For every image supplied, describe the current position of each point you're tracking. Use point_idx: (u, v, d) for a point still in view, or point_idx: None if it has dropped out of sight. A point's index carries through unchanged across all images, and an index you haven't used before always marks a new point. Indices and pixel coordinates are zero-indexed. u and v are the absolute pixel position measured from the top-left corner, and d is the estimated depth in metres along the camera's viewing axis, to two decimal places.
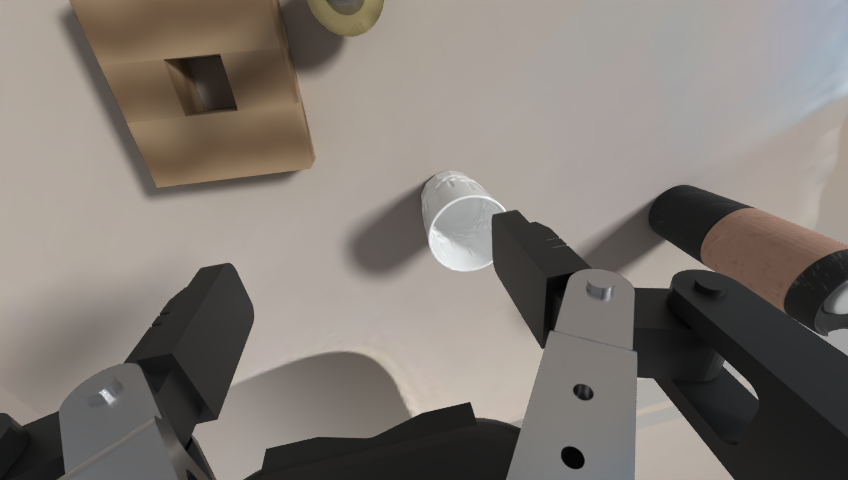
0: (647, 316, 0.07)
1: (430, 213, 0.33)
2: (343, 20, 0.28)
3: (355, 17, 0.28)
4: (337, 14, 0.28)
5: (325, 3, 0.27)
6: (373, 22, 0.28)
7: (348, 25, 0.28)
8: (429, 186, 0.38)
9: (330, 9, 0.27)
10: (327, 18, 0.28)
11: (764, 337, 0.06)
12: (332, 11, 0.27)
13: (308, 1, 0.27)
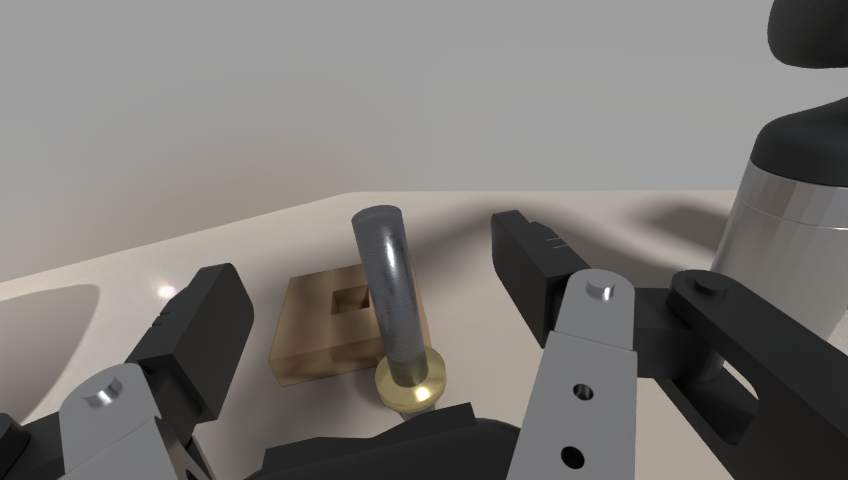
0: (647, 316, 0.07)
1: None
2: (387, 371, 0.30)
3: (389, 380, 0.29)
4: None
5: None
6: (385, 396, 0.28)
7: (383, 375, 0.30)
8: None
9: None
10: None
11: (764, 337, 0.06)
12: None
13: None
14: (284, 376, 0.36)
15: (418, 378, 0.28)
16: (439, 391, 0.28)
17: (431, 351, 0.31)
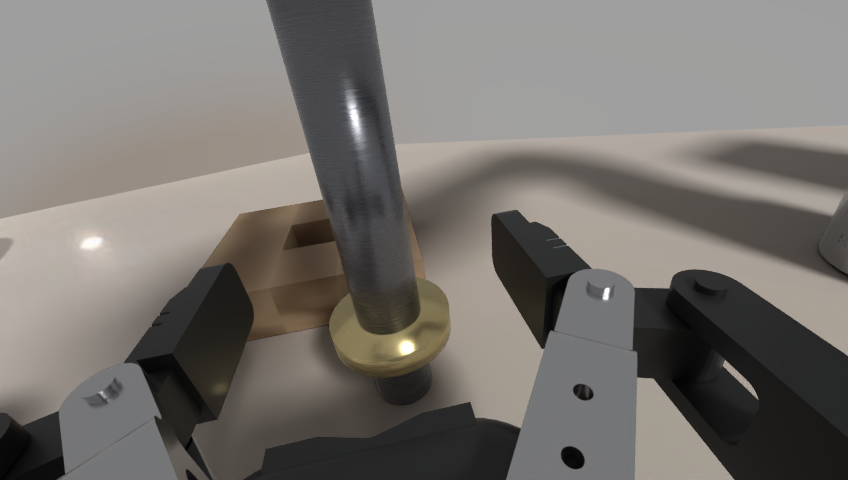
0: (647, 316, 0.07)
1: None
2: (351, 312, 0.18)
3: (353, 325, 0.17)
4: None
5: None
6: (343, 347, 0.16)
7: (344, 318, 0.18)
8: None
9: None
10: None
11: (764, 337, 0.06)
12: None
13: None
14: None
15: (401, 318, 0.16)
16: (439, 341, 0.16)
17: (426, 283, 0.19)
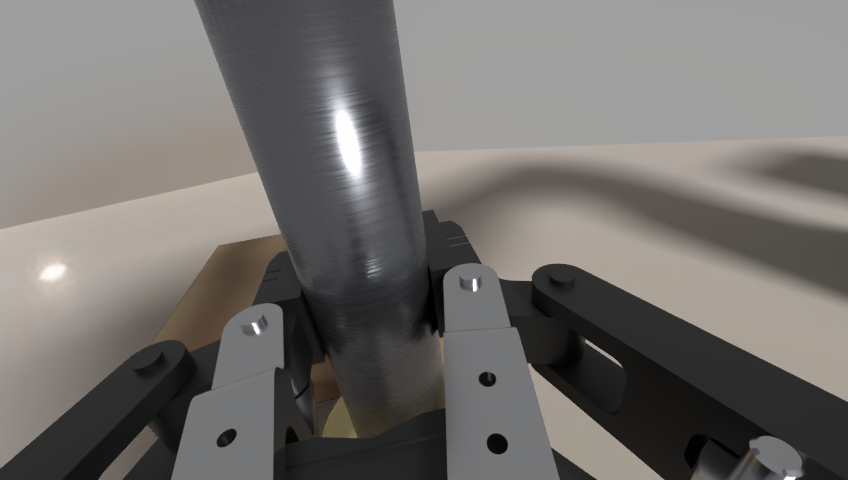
0: (510, 305, 0.08)
1: None
2: (351, 427, 0.13)
3: None
4: None
5: None
6: None
7: None
8: None
9: None
10: None
11: (613, 314, 0.06)
12: None
13: None
14: None
15: None
16: None
17: None
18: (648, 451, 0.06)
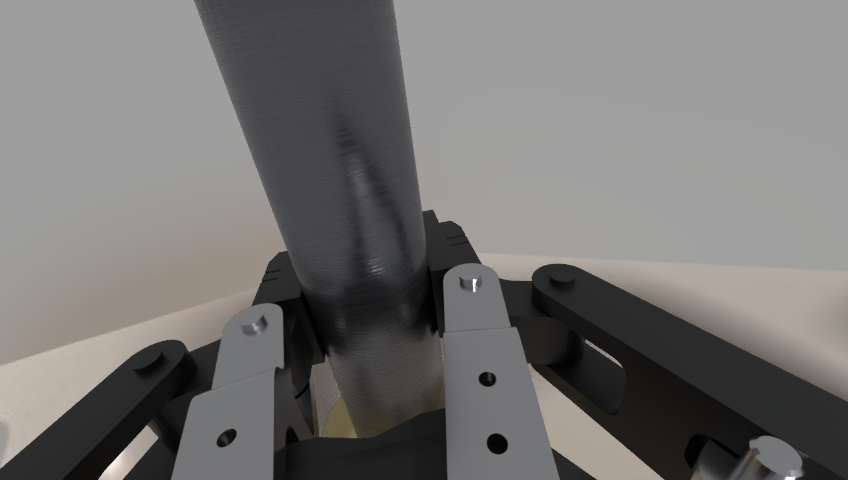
0: (509, 305, 0.08)
1: None
2: (351, 427, 0.13)
3: None
4: None
5: None
6: None
7: None
8: None
9: None
10: None
11: (613, 314, 0.06)
12: None
13: None
14: None
15: None
16: None
17: None
18: (648, 451, 0.06)
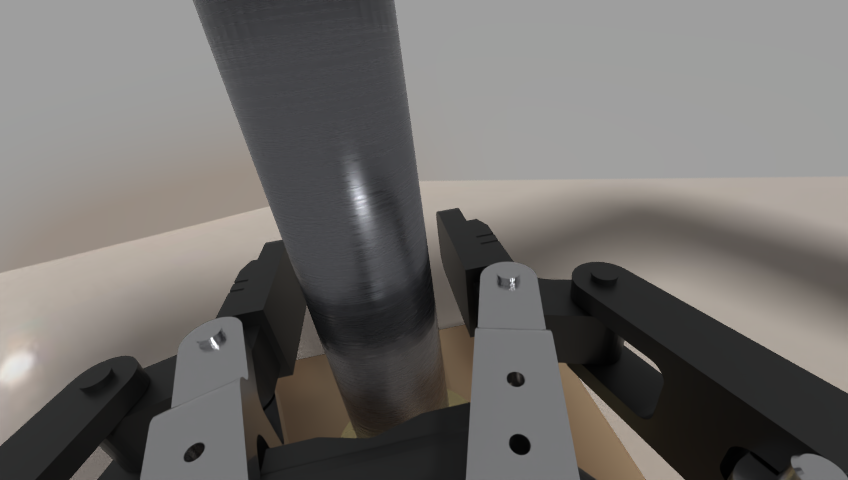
0: (549, 304, 0.07)
1: None
2: None
3: None
4: None
5: None
6: None
7: None
8: None
9: None
10: None
11: (655, 317, 0.06)
12: None
13: None
14: None
15: None
16: None
17: (458, 401, 0.15)
18: (681, 460, 0.06)
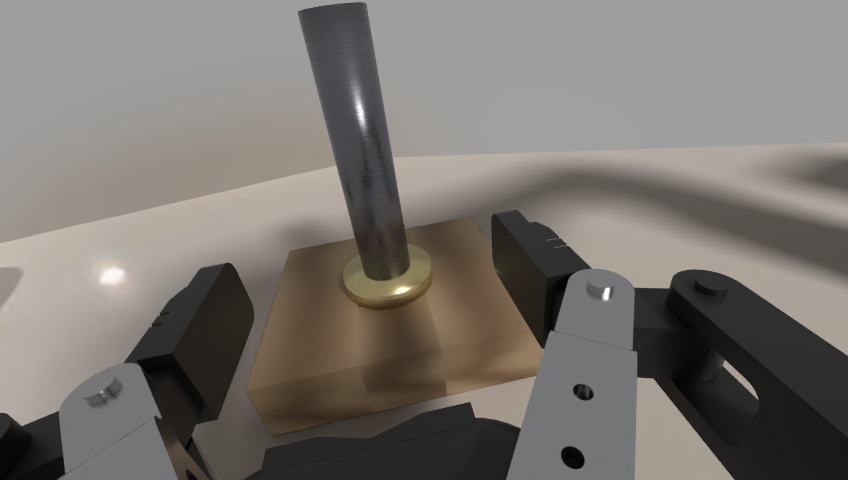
0: (647, 316, 0.07)
1: None
2: (359, 268, 0.24)
3: (361, 275, 0.23)
4: None
5: None
6: (354, 289, 0.22)
7: (353, 271, 0.24)
8: None
9: None
10: None
11: (764, 337, 0.06)
12: None
13: None
14: (277, 418, 0.19)
15: (396, 268, 0.22)
16: (423, 285, 0.23)
17: (415, 248, 0.26)
18: None
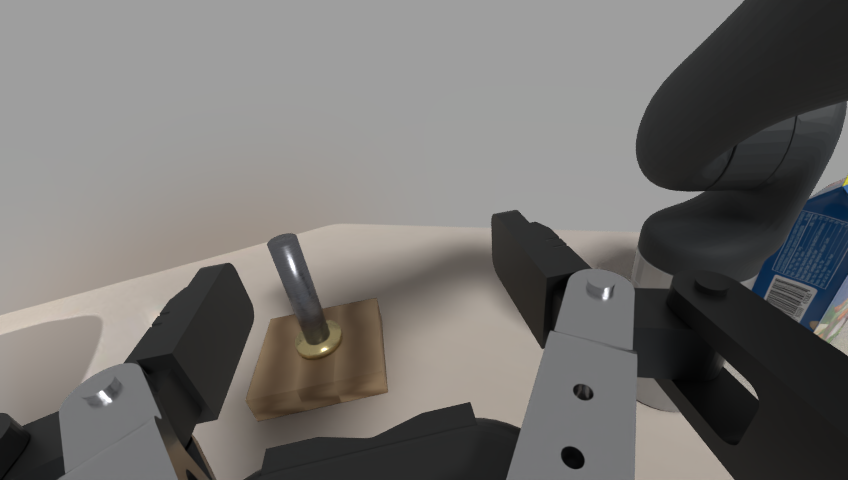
0: (647, 316, 0.07)
1: None
2: (304, 336, 0.47)
3: (304, 341, 0.46)
4: None
5: None
6: (299, 349, 0.45)
7: (300, 338, 0.47)
8: None
9: None
10: None
11: (764, 337, 0.06)
12: None
13: None
14: (259, 413, 0.42)
15: (320, 339, 0.45)
16: (333, 347, 0.45)
17: (335, 324, 0.48)
18: None
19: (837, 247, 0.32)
